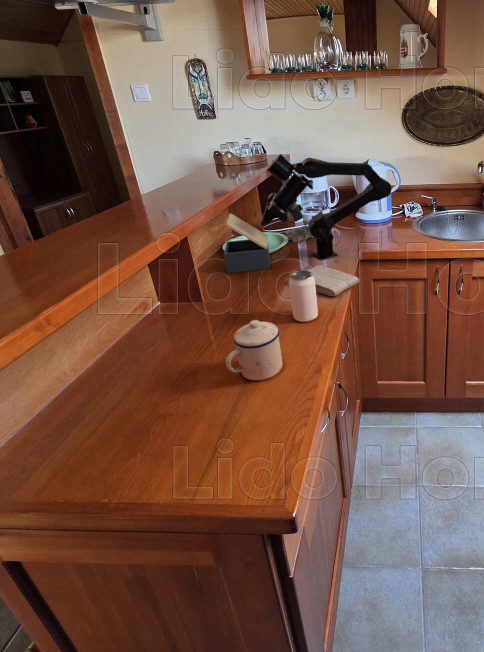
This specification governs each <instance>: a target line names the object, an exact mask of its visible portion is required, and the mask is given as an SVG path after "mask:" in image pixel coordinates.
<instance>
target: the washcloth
mask: <svg viewBox="0 0 484 652" xmlns="http://www.w3.org/2000/svg"><path fill="white" fill-rule="evenodd" d="M307 271H310V272H311V273H312V276H313V277H314V279H315V287H316V293H317V292H318V293H321V294H322V295H323V294H324V295H327V296H330V297H336V296H338V295H340V294H342V293H343V292H345V291H346V290H349V289H351V288H352V287H354V286H356V285H357V284H359V282H360V279H359V277H358V276H356V275H353V274H350V273H347V272H344V271H341V270H338V269H335V268H331V267H328V266H325V265H322V264H320V265H315V266H313V268H311V269H309V270H307Z"/></svg>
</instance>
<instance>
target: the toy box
mask: <svg viewBox="0 0 484 652" xmlns="http://www.w3.org/2000/svg"><path fill="white" fill-rule="evenodd" d="M267 243H268V244H269V241H268V240H267ZM269 248H270V247H269V246H268V247H267V249H265V248H263V247H261V246H260V245H258V244H256V243H255V242H253V241H251V240H250V239H248V238H247V239H239V240H230V241H226V244H225V247H224V252H223V258H224V264H225V270H226V273H227V274H235V273H242V272H243V273H245V272H254V271H260V270H269V269H271V257H270V249H269Z"/></svg>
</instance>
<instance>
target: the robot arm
mask: <svg viewBox="0 0 484 652" xmlns="http://www.w3.org/2000/svg"><path fill="white" fill-rule="evenodd" d="M266 171H267V172H268V173H270V174H271V175H272V176H273V177H274V178H275V179H277V180H278V181H279V182H283V181H284V182H286V183H284V185H281V186H280V189H279V191H278V192H277V193H276V192H271V193H270V194H269V195H268V197H267V200H271V201H270V202H269V201H267V203H266V206H265V209H264V212H263V215H262V217H261V222H260V226H261V227H265V226H267V225H269V224H270V223H271V222H272V221H274V220H276V219H278V220H280V221H281V222H282V223H285V222H286V221H287V220H288V218H289V215H288V213H290V215H291V217H292V218H293V221H294V222H295V223H297V222H298V221H301V220H302V219H304V214H303V212H302V211H303V207H302V205H301V204H300V203H299V204H298V203H297V202H298V197H299V196H300V195H301V194H302V192H304V190H306V188H309V189H310V190H314V180H313V179H317V178H323V177H327V176H363V177H364V178H365V179H366V180H367V182H368V184H367V185H366V187H365V188H364V190H363V191H361V192H360V193H358V194H356V195H354V196H353V197H352V198H350V199H348V200H347V201H345V202H344V203H342V204H340V205H339V206H337V207H336V208H334V209H332V210H331V211H329V212H326V213H323V211H322V210H320V211H319V212H317V213H316V214H314V215H311V219H309V220H308V223H307V226H308V228H309V231H310V233H311V235H312V236H313V238H315V245H316V251H315V252H313V255H314V256H315V257H317V258H318V259H319V260H325V259H329V258H332V257H336V256H338V253H336V252H335V251H334V245H333V241H334V234H333V232H332V229H333V228H334V227H335V225H337V224H338V223H340V222H341V221H342V220H344V219H345V218H348V217H349V216H350V215H353V213H355V212H357V211H358V210H360V209H361V208H363V207H365V206H366V205H368V204H370V203H372V202H378V201H381V200H383V199H385V198H387V197H389V196H390V195H391V194H392V189H393V188H392V185H391V183H390V182H389V181H387V180H386V179H385V178H383V177H381V176H380V175H379V174H378V172H376V171H375V170H374V169H373V167H372V165H370V164H369V163H368V162H361V163H360V162H359V163H358V162H335V161H334V162H330V161H326V160H322V159H318V158H314V157H307V158H304V159H303V160H302V161H301V162H295V163H291V162H290V161H289V160H288V159H287V158H286V157H285V156H284V155H283V154H282V153H279V155H278V156H276V157H275V158H274V159H273V160H272V161H271V162H270V164H269V165H268V166H267V167H266Z"/></svg>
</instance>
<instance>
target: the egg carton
mask: <svg viewBox="0 0 484 652" xmlns="http://www.w3.org/2000/svg"><path fill="white" fill-rule="evenodd" d="M285 235H286V237H288V238H287V240H288V241H292V242H293V243H300V242H301V241H307V240H308V239H309V238H310V239H313V238H314V237H313V236H312V235H311V233H310V231H309V228H308V224H304V225H303V226H299V227H296V228H293V229H288V230H286V231H285Z"/></svg>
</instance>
